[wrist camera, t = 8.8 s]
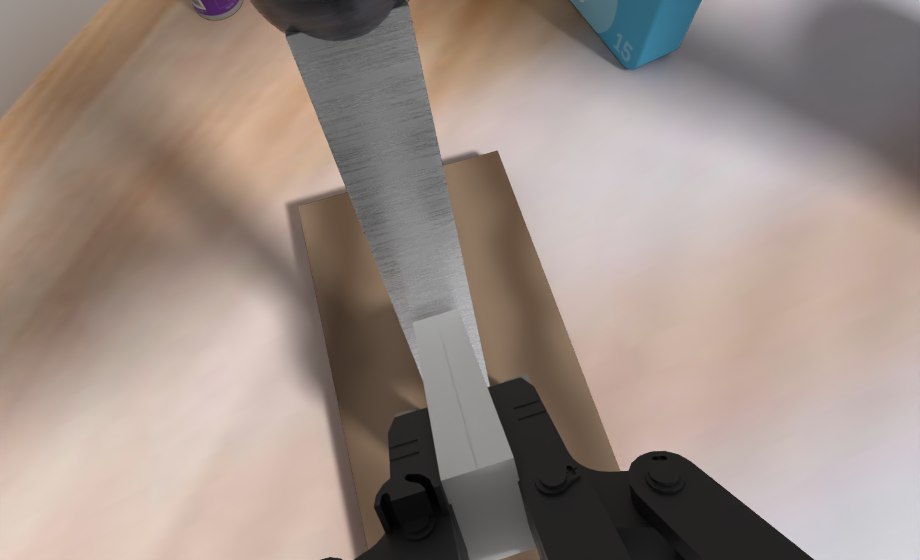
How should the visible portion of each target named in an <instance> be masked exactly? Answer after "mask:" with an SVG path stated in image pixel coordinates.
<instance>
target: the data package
mask: <svg viewBox="0 0 920 560" xmlns="http://www.w3.org/2000/svg"><path fill="white" fill-rule="evenodd" d="M570 1H571V2H572V3H573V5H574V6H575V7H576V8H577V10H578V11H579V12H580V13H581V14H582V16H583V17H584V18H585V19H586V21H587V22H588V23H589V24H590V25H591V27H592V28H593V29H594V30H595V32H596V33H597V34H598V35H599V37H600V38H601V39H602V40H603V41H604V43H605V44H606V45H607V46H608V48H609V49H610V50H611V51H612V52H613V54H614V55H615V56H616V57H617V59H618V60H619V61H620V62H621V64H622V65H623V66H624V67H626V68H628V69H636V68H638V67H640V66H642V65H644V64H647V63H649V62H651V61H653V60H655V59H657V58H660V57H662V56H664V55H666V54H668V53H670V52H673V51H675V50H676V49H677V48H678V47H679V46H680V44H681V42H682V40H683V38H684V36H685V34H686V32H687V30H688V28H689V26H690V24H691V22H692V19H693V17H694V15H695V13H696V11H697V9H698V7H699V5H700V3H701V1H702V0H570Z"/></svg>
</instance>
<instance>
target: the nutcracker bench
mask: <svg viewBox="0 0 920 560" xmlns="http://www.w3.org/2000/svg"><path fill="white" fill-rule="evenodd" d="M443 169H444V174H445V178H446V183H447V188H448V192H449V197H450V202H451V207H452V211H453V216H454V221H455V225H456V230H457V235H458V239H459V244H460V249H461V253H462V258H463V263H464V268H465V272H466V277H467V282H468V286H469V291H470V296H471V300H472V305H473V310H474V314H475V319H476V324H477V329H478V333H479V338H480V343H481V347H482V352H483V357H484V361H485V366H486V371H487V375H488V380H489V385H490V386H494V385H497V384H500V383H503V382H507V381H510V380H513V379H516V378H520V377H521V378H523V379H524V380H526V381H527V382H529V383H530V384H532V385H533V386H534V387H535V389H536V391H537V393H538V395H539V397H540V398H541V401H542V402H543V404H544V406H545V408H546V410H547V413H548V414H549V416H550V418H551V420H552V421H553V423H554V425H555V427H556V429H557V431H558V433H559V435H560V437H561V439H562V441H563V442H564V444H565V446H566V448H567V450H568V452H569V453H570V455H571V456H572V458H573V459H574V460H576V461H577V462H578V463H579V464H581V465H583V466H585V467H587V468H589V469H593V470H597V471H607V472H613V471H620V469H619V466H618V464H617V461H616V459H615V456H614V453H613V451H612V448H611V446H610V443H609V440H608V438H607V435H606V433H605V430H604V427H603V425H602V422H601V419H600V417H599V414H598V412H597V409H596V406H595V404H594V401H593V399H592V396H591V393H590V391H589V388H588V386H587V383H586V380H585V378H584V375H583V373H582V370H581V367H580V365H579V362H578V359H577V357H576V354H575V352H574V349H573V346H572V344H571V341H570V339H569V336H568V333H567V331H566V328H565V326H564V323H563V320H562V318H561V315H560V313H559V310H558V307H557V305H556V302H555V299H554V297H553V294H552V292H551V289H550V286H549V284H548V281H547V279H546V276H545V273H544V271H543V268H542V266H541V263H540V260H539V258H538V255H537V252H536V250H535V247H534V245H533V242H532V239H531V237H530V234H529V232H528V229H527V226H526V224H525V221H524V219H523V216H522V213H521V211H520V208H519V206H518V203H517V200H516V198H515V195H514V192H513V190H512V187H511V185H510V182H509V179H508V177H507V174H506V172H505V169H504V166H503V164H502V161H501V159H500V156H499V153H498V151H494V152H491V153H487V154H483V155H480V156H476V157H473V158H469V159H465V160H462V161H458V162H455V163H451V164H448V165H444V166H443ZM298 208H299V213H300V218H301V223H302V228H303V233H304V238H305V243H306V248H307V253H308V258H309V262H310V267H311V272H312V277H313V282H314V287H315V292H316V297H317V302H318V307H319V312H320V316H321V321H322V326H323V331H324V336H325V341H326V346H327V351H328V356H329V361H330V366H331V370H332V375H333V380H334V385H335V390H336V395H337V400H338V405H339V410H340V415H341V420H342V425H343V429H344V434H345V439H346V444H347V449H348V454H349V459H350V464H351V469H352V474H353V479H354V483H355V488H356V493H357V498H358V503H359V508H360V513H361V518H362V523H363V528H364V533H365V537H366V542H367V547H368V550H369V549H370V548H371V547H373V546H374V545H375V544H376V543H377V542H378V541H379V540H380V539H381V538H382V536H383V535H384V533H385V531H384V529H383V527H382V525H381V522H380V520H379V518H378V516H377V513H376V511H375V509H374V502H375V497H376V495H377V493H378V491H379V490H380V488H381V487H382V485H383V484H384V483H385V482H386V481H388V480H389V479H390V461H389V446H388V431H389V429H390V427H391V424H392V422H393V420H394V417H397V416H400V415H403V414H407V413H410V412H413V411H416V410H420V409H423V408H426V407H428V406H427V400H426V395H425V389H424V383H423V379H422V377H421V374H420V372H419V369H418V367H417V364H416V362H415V359H414V357H413V354H412V352H411V349H410V347H409V344H408V342H407V339H406V337H405V334H404V332H403V329H402V327H401V324H400V322H399V319H398V317H397V314H396V312H395V309H394V307H393V304H392V302H391V299H390V297H389V294H388V292H387V289H386V287H385V284H384V282H383V279H382V277H381V274H380V272H379V269H378V267H377V264H376V262H375V259H374V257H373V254H372V252H371V249H370V247H369V244H368V242H367V239H366V237H365V234H364V232H363V229H362V227H361V224H360V222H359V219H358V217H357V214H356V212H355V209H354V207H353V204H352V202H351V199H350V197H349V194H348V192H347V193H344V194H340V195H337V196H333V197H329V198H326V199H322V200H319V201H315V202H311V203H308V204H304V205H301V206H298ZM500 560H540V556H539V554H538V551H537V548H533V549H530V550H527V551H524V552H521V553H518V554H515V555H512V556H509V557H506V558H503V559H500Z"/></svg>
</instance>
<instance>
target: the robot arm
mask: <svg viewBox="0 0 920 560" xmlns="http://www.w3.org/2000/svg"><path fill="white" fill-rule="evenodd" d="M413 327H414V332H415V338H416V344H417V349H418V355H419V361H420V366H421V372H422V378H423V383H424V389H425V395H426V400H427V406H428V407H426V408H423V409H420V410H416V411H413V412H410V413H407V414H403V415H400V416H397V417H394V420H393V422H392V424H391V427H390V429H389V431H388V446H389V461H390V479H389V480H388V481H386V482H385V483H384V484H383V485H382V487H381V488H380V490H379V491H378V493H377V495H376V497H375V502H374V509H375V511H376V513H377V516H378V518H379V520H380V522H381V525H382V527H383V529H384V531H385V533H384V535H383V536H382V538H381V539H380V540H379V541H378V542H377V543H376V544H375V545H374V546H373V547H371V548H370V549H369V550H368V551H366V552H365V553H363V554H362V555H360V556H359V557H357V558H356V559H354V560H500V559H503V558H506V557H509V556H512V555H515V554H518V553H521V552H524V551H527V550H530V549H533V548H537V551H538V554H539V556H540V560H814V559H813V558H811V557H810V556H809V555H808V554H806V553H805V552H804V551H803V550H801V549H800V548H799V547H798V546H796V545H795V544H794V543H793V542H791V541H790V540H789V539H788V538H786V537H785V536H784V535H782V534H781V533H780V532H779V531H777V530H776V529H775V528H774V527H772V526H771V525H770V524H769V523H767V522H766V521H765V520H764V519H762V518H761V517H760V516H759V515H757V514H756V513H755V512H754V511H752V510H751V509H750V508H749V507H747V506H746V505H745V504H744V503H742V502H741V501H740V500H739V499H737V498H736V497H735V496H734V495H732V494H731V493H730V492H728V491H727V490H726V489H725V488H723V487H722V486H721V485H720V484H718V483H717V482H716V481H715V480H713V479H712V478H711V477H710V476H708V475H707V474H706V473H705V472H703V471H702V470H701V469H700V468H698V467H697V466H696V465H695V464H693V463H692V462H691V461H689V460H687V459H686V458H684V457H682V456H680V455H679V454H675V453H671V452H666V451H654V452H649V453H646V454H643V455H641V456H639V457H638V458H637V459H636V460H635V461H633V462H632V463H631V466H630V469H629V471H613V472H607V471H597V470H593V469H589V468H587V467H585V466H583V465H581V464H579V463H578V462H577V461H576V460H574V459H573V458H572V456H571V455H570V453H569V452H568V450H567V448H566V446H565V444H564V442H563V441H562V439H561V437H560V435H559V433H558V431H557V429H556V427H555V425H554V423H553V421H552V420H551V418H550V416H549V414H548V413H547V410H546V408H545V406H544V404H543V402H542V401H541V398H540V397H539V395H538V393H537V391H536V389H535V387H534V386H533V385H532V384H530V383H529V382H527V381H526V380H524V379H523V378H521V377H520V378H516V379H513V380H510V381H507V382H503V383H500V384H497V385H494V386H490V387H487V385H486V382H485V380H484V377H483V374H482V372H481V369H480V366H479V364H478V361H477V358H476V356H475V353H474V350H473V348H472V345H471V342H470V340H469V337H468V334H467V332H466V329H465V326H464V324H463V321H462V318H461V316H460V313H459V310H458V309H456V310H452V311H449V312H445V313H442V314H439V315H435V316H432V317H428V318H425V319H422V320H418V321H415V322H413ZM322 560H342V559H341V558H332V557H329V558H325V559H322Z"/></svg>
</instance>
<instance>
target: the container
mask: <svg viewBox="0 0 920 560" xmlns="http://www.w3.org/2000/svg"><path fill="white" fill-rule="evenodd" d="M190 2H191V3H192V5H193V6H194V8H195V9H196V11H197V12H198V14H199V15H200V16H202V17H203V18H205V19H209V20H220V19H224V18H227V17H229V16H231V15H233V14H234V13H235V12H236V11H237V10H238V9H239V8H240V7H241V5H242V2H243V0H190Z"/></svg>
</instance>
